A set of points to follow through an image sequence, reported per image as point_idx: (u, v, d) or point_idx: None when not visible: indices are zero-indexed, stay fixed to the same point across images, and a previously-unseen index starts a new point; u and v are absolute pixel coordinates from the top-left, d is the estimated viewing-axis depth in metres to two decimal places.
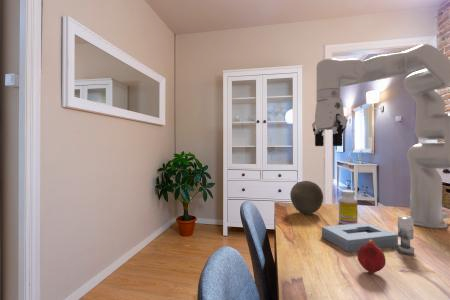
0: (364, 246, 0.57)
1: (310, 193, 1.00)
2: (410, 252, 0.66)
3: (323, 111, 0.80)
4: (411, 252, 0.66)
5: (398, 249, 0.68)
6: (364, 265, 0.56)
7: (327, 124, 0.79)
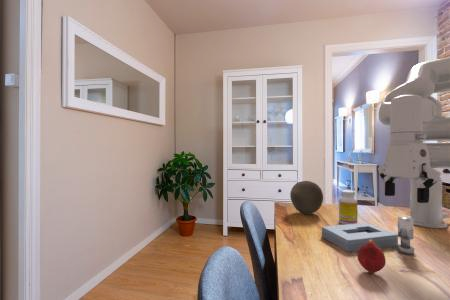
0: (364, 246, 0.57)
1: (310, 193, 1.00)
2: (410, 252, 0.66)
3: (401, 158, 0.66)
4: (411, 252, 0.66)
5: (398, 249, 0.68)
6: (364, 265, 0.56)
7: (407, 175, 0.65)
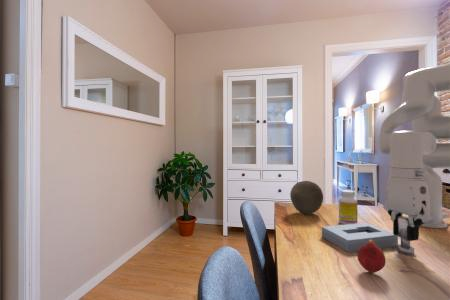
0: (364, 246, 0.57)
1: (310, 193, 1.00)
2: (410, 252, 0.66)
3: (402, 193, 0.67)
4: (411, 252, 0.66)
5: (398, 249, 0.68)
6: (364, 265, 0.56)
7: (407, 211, 0.65)
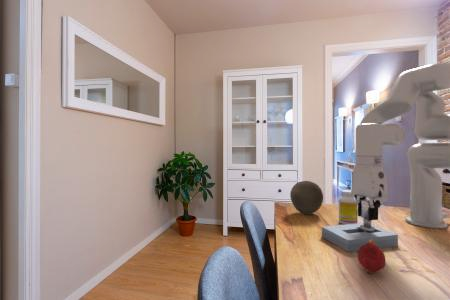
0: (364, 246, 0.57)
1: (310, 193, 1.00)
2: (370, 230, 0.75)
3: (364, 178, 0.76)
4: (371, 230, 0.75)
5: (361, 228, 0.77)
6: (364, 265, 0.56)
7: (368, 193, 0.74)
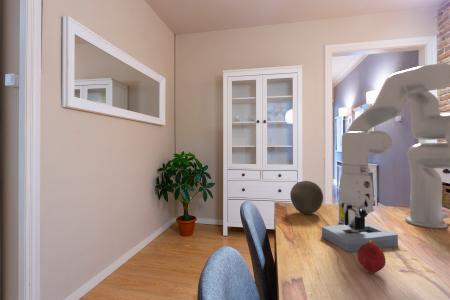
0: (364, 246, 0.57)
1: (310, 193, 1.00)
2: None
3: (350, 187, 0.74)
4: None
5: None
6: (364, 265, 0.56)
7: (354, 203, 0.73)
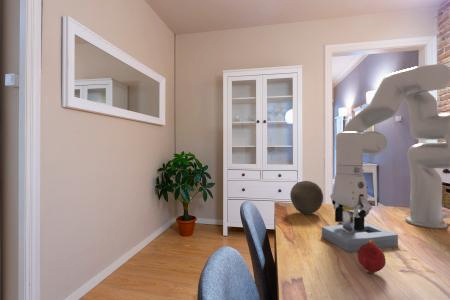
0: (364, 246, 0.57)
1: (310, 193, 1.00)
2: None
3: (344, 188, 0.74)
4: None
5: None
6: (364, 265, 0.56)
7: (348, 204, 0.73)
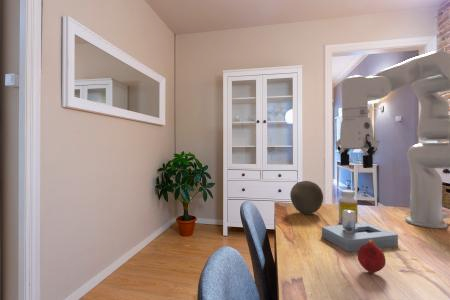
0: (364, 246, 0.57)
1: (310, 193, 1.00)
2: None
3: (351, 131, 0.77)
4: None
5: None
6: (364, 265, 0.56)
7: (355, 145, 0.76)
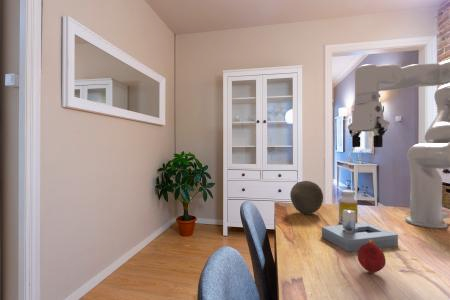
0: (364, 246, 0.57)
1: (310, 193, 1.00)
2: None
3: (363, 114, 0.85)
4: None
5: None
6: (364, 265, 0.56)
7: (367, 127, 0.84)
